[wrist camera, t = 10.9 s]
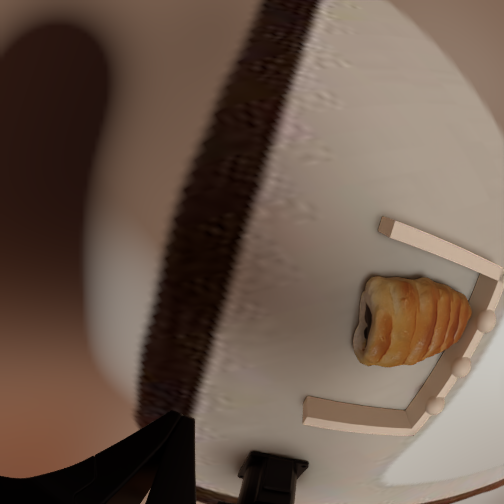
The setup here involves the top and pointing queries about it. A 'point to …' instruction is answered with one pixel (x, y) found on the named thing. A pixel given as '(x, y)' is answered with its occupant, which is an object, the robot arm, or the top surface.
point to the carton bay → (448, 366)
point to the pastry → (407, 320)
